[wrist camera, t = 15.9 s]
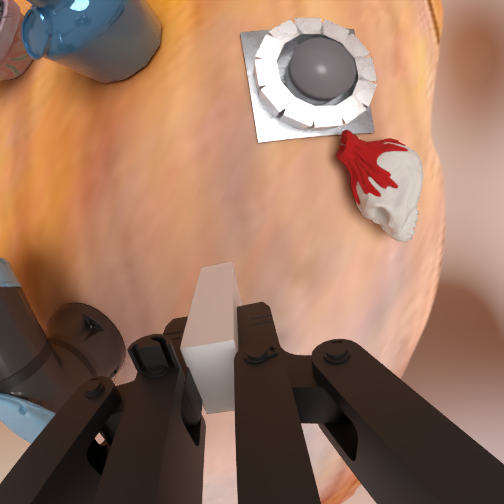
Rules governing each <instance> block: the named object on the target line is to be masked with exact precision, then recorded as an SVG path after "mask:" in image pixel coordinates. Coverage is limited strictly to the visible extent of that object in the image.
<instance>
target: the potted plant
mask: <svg viewBox="0 0 504 504" xmlns="http://www.w3.org/2000/svg"><path fill="white" fill-rule="evenodd" d="M23 19H24V16H23V15H22V14H21V12H20V7H19V6H18V5H17V4H16V2H14V1H13V0H0V81H2V80H11V79H15V78H17V77H18V76H20V75H21V74H23V73H24V72H25V71H26V69H27V68H28V67H29V66H30V64H31V63H32V61H33V60H34V59H32V58H31V57H30V56H29V55H28V54H27V52H26V50H25V48H24V45H23V42H22V38H21V24H22V21H23Z"/></svg>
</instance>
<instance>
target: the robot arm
mask: <svg viewBox="0 0 504 504" xmlns="http://www.w3.org/2000/svg"><path fill="white" fill-rule="evenodd" d="M21 287H22V285H21V283H19V282H18V280H17V278H16V276H15V274H14V272H13V270H12V267H11V265H10V264H9V262H8V261H7V260H5V259H4V258H1V257H0V420H1V421H2V422H3V423H4V424H5V425H6V426H7V427H8V428H9V429H10V430H12V431H13V432H14V433H16V434H17V435H18V436H20V437H21V438H23V439H24V440H26V441H28V442H30V443H31V445H30V446H29V447H28V449H27V450H26V451H25V453H24V454H23V455H22V456H21V458H20V459H19V460H18V461H17V463H16V464H15V465H14V467H13V468H12V469H11V471H10V472H9V473H8V474H7V476H6V477H5V478H4V480H3V481H2V482H1V484H0V504H202V490H203V468H204V449H205V432H206V424H205V420H204V418H203V416H202V414H201V412H202V404H203V406H204V409H205V411H206V413H207V414H211V413H219V412H227V411H234V410H235V436H236V466H237V491H238V504H321V502H320V498H319V494H318V490H317V486H316V482H315V478H314V474H313V470H312V466H311V462H310V458H309V454H308V450H307V446H306V442H305V438H304V434H303V430H302V426H301V423H317V424H318V425H319V427H320V429H321V430H322V431H323V433H324V434H325V435H326V437H327V438H328V440H329V441H330V442H331V444H332V445H333V446H334V448H335V449H336V451H337V452H338V453H339V455H340V456H341V457H342V459H343V460H344V461H345V463H346V464H347V465H348V467H349V468H350V469H351V471H352V472H353V473H354V475H355V476H356V477H357V479H358V480H359V481H360V483H361V484H362V485H363V486H364V488H365V489H366V490H367V491H368V493H369V494H370V496H371V497H372V498H373V499H374V501H375V502H376V503H377V504H504V464H503V463H501V462H500V461H499V460H498V459H496V458H495V457H494V456H493V455H492V454H490V453H489V452H488V451H487V450H486V449H484V448H483V447H482V446H481V445H479V444H478V443H477V442H476V441H475V440H473V439H472V438H471V437H470V436H469V435H467V434H466V433H465V432H464V431H463V430H461V429H460V428H459V427H458V426H456V425H455V424H454V423H453V422H451V421H450V420H449V419H448V418H446V416H444V415H443V414H442V413H440V412H439V411H438V410H437V409H436V408H435V407H433V406H432V405H431V404H430V403H428V402H427V401H426V400H425V399H424V398H422V397H421V396H420V395H419V394H418V393H416V392H415V391H414V390H413V389H412V388H410V387H409V386H408V385H407V384H406V383H404V382H403V381H402V380H401V379H400V378H398V377H397V376H396V375H395V374H393V373H392V372H391V371H390V370H389V369H387V368H386V367H385V366H384V365H383V364H381V363H380V362H379V361H378V360H377V359H375V358H374V357H373V356H372V355H371V354H369V353H368V352H367V351H366V350H365V349H363V348H362V347H361V346H360V345H358V344H357V343H355V342H353V341H351V340H346V339H333V340H329V341H326V342H323V343H322V344H320V345H318V346H317V347H316V348H315V349H314V350H313V352H312V355H294V354H290V353H288V352H286V351H284V350H283V349H282V348H281V346H280V344H279V341H278V337H277V333H276V329H275V325H274V322H273V318H272V314H271V310H270V307H269V306H268V305H267V304H265V303H264V302H259V303H254V304H249V305H243V304H242V300H241V296H240V291H239V287H238V282H237V278H236V274H235V269H234V265H233V261H231V262H226V263H221V264H216V265H211V266H206V267H202V268H201V271H200V275H199V278H198V282H197V285H196V289H195V293H194V296H193V300H192V304H191V308H190V311H189V315H188V317H182V318H176V319H173V320H172V321H171V322H170V323H169V324H168V325H167V326H166V328H165V330H164V333H163V335H162V334H152V335H148V336H145V337H142V338H140V339H138V340H136V341H135V342H134V343H132V344H131V345H130V346H129V348H128V349H127V350H128V352H129V355H130V357H131V359H132V361H133V363H134V365H135V367H136V369H137V371H138V373H137V375H136V378H135V381H132V382H129V383H126V384H122V385H119V386H115V384H114V383H113V381H112V380H111V378H112V377H114V376H115V375H116V374H117V373H118V371H119V370H120V368H121V366H122V364H123V362H124V359H125V346H124V342H123V339H122V337H121V335H120V333H119V331H118V330H117V328H116V327H115V326H114V324H113V323H112V322H111V321H110V320H109V319H108V318H107V317H106V316H105V315H103V314H102V313H101V312H99V311H98V310H96V309H95V308H93V307H91V306H88V305H85V304H81V303H68V304H65V305H63V306H62V307H60V308H59V309H58V310H57V311H56V312H55V313H54V314H53V315H52V317H51V319H50V321H49V324H48V327H47V330H46V332H45V333H44V331H43V330H42V328H41V326H40V324H39V322H38V320H37V319H36V317H35V315H34V313H33V311H32V309H31V307H30V305H29V303H28V301H27V299H26V297H25V294H24V292H23V290H22V288H21ZM98 433H100V434H101V435H102V437H103V438H104V439H105V440H104V442H102V443H101V444H98V442H97V441H96V440H95V437H96V436H97V434H98Z"/></svg>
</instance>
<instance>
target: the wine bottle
mask: <svg viewBox="0 0 504 504" xmlns="http://www.w3.org/2000/svg"><path fill="white" fill-rule="evenodd" d="M27 1H28V2H30V3H31V4H32V5H31V6H30V9H29V10H28V11H27V13H26V15H25V17H24V19H23V21H22V24H21V38H22V42H23V45H24V48H25V50H26V52H27V54H28V55H29V56H30V57H31V58H32V59H34V60H40V59H42V58H44V59H47V60H49V61H51V62H54V63H56V64H59V65H61V66H63V67H66V68H68V69H70V70H72V71H75V72H77V73H79V74H81V75H84V76H86V77H88V78H91V79H93V80H96V81H98V82H101V83H108V82H113V81H118V80H124V79H127V78H128V77H130V76H131V75H133V74H134V73H135V72H137V71H138V70H140V69H141V68H143V67H144V66H146V65H147V63H148V62H149V60H150V59H151V57H152V56H153V54H154V53H155V51H156V50H157V48H158V47H159V45H160V37H161V26H162V24H161V22H160V21H159V19H158V18H157V16H156V14H155V13H154V11H153V10H152V8H151V7H150V5H149V4H148V2H147V1H146V0H27Z"/></svg>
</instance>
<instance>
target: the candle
mask: <svg viewBox="0 0 504 504" xmlns="http://www.w3.org/2000/svg"><path fill="white" fill-rule="evenodd" d="M341 135H342V138H341V142H342V143H339V145H340V148H339V151H338V152H337V154H336V157H337V158H338V160H340V161H341V162H343V163H344V164H345V165H346V167H347V169H348V170H349V173H350V175H351V184H350V186H351V189H352V192H353V197H354V199H355V201H356V205H357V207H358V208H359V210H360V212H361V213H362V215H363V216H364V217H365V218H368V219H372V221H373V222H374V223H376V224H380V226H381V227H382V229H383V230H384V231H385V232H386V233H387V234H388V235H389V236H390V237H391V238H393V239H395V240H397V241H402V242H408V239H410V240H411V239H412V236H411V235H413V234H414V233H415V232H414V230H413V228H415V227H416V223H415V222H417V220H418V217H417V215H418V210H417V203H418V201H419V198H420V194H421V189H422V183H423V168H422V163H421V159H420V157H419V156H418V154H417V153H416V152H415V151H414V150H412V149H410V148H409V147H406V146H405V145H404V144H402V143H400V142H398V140H395V139H391V138H389V139H384V140H380V141H371V142H365V141H362V140H360V139H358V137H357V136H356V135H354V134H353V133H352V132H351V131H349V130H347V129H346V130H344V131H342V133H341Z"/></svg>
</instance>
